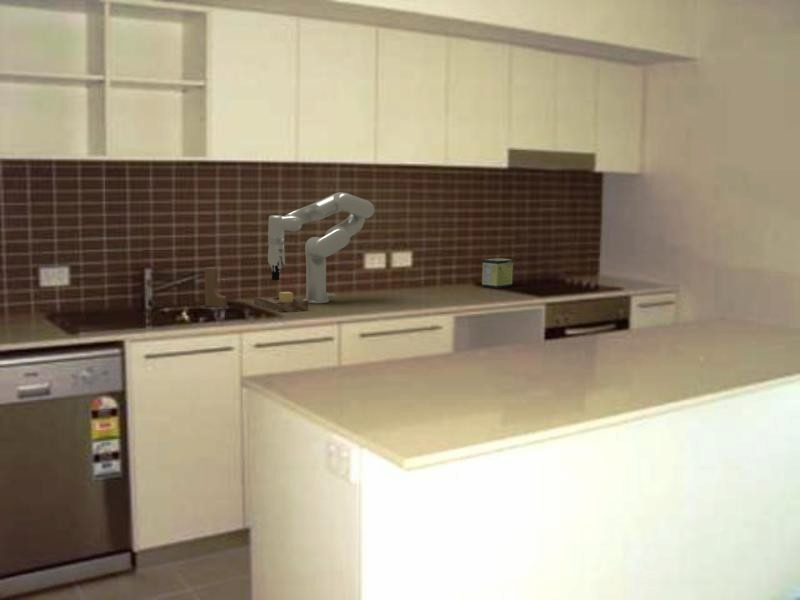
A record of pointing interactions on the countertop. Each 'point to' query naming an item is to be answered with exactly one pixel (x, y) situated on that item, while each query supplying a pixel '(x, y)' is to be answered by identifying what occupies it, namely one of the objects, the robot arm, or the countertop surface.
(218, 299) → the wooden block
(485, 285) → the protein box
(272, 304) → the trap board
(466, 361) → the countertop surface
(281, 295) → the block
